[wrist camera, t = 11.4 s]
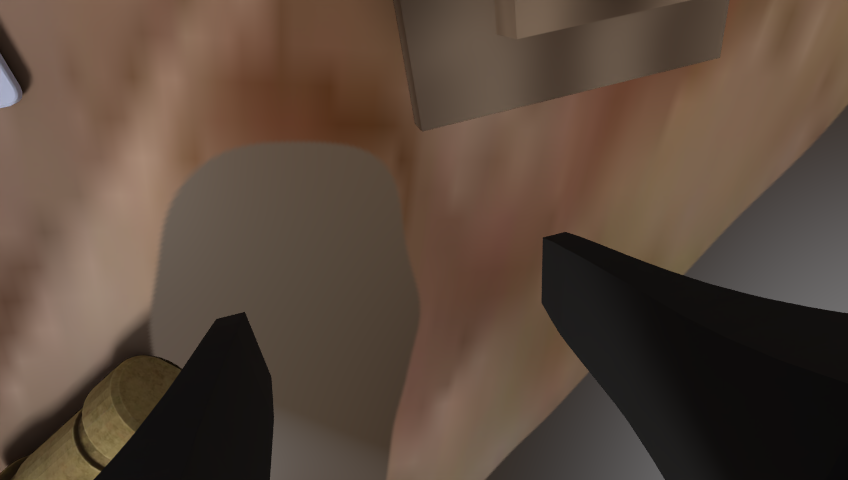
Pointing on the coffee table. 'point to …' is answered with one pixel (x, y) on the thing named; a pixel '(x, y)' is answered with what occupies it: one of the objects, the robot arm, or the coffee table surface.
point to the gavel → (99, 423)
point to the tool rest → (542, 49)
